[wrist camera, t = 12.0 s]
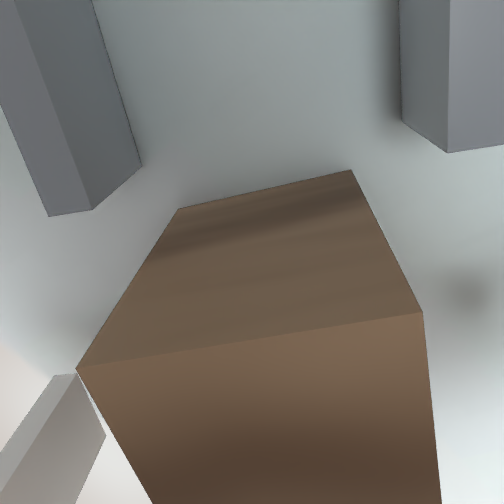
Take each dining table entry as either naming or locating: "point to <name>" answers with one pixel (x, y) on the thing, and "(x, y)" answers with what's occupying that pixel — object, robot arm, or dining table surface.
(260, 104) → the dining table surface
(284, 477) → the block
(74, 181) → the channel
